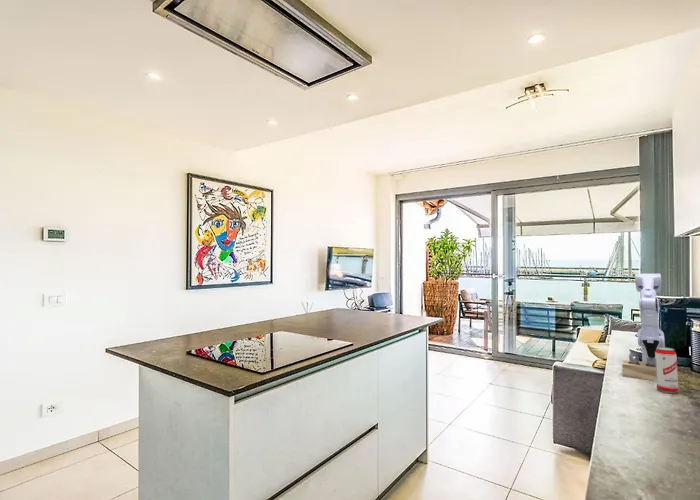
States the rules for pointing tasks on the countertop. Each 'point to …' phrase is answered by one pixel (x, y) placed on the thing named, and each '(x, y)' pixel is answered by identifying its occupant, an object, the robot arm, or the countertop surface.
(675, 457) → the countertop surface
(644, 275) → the robot arm
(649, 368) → the housing
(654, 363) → the peg
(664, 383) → the beer can
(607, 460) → the countertop surface
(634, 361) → the peg
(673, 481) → the countertop surface
